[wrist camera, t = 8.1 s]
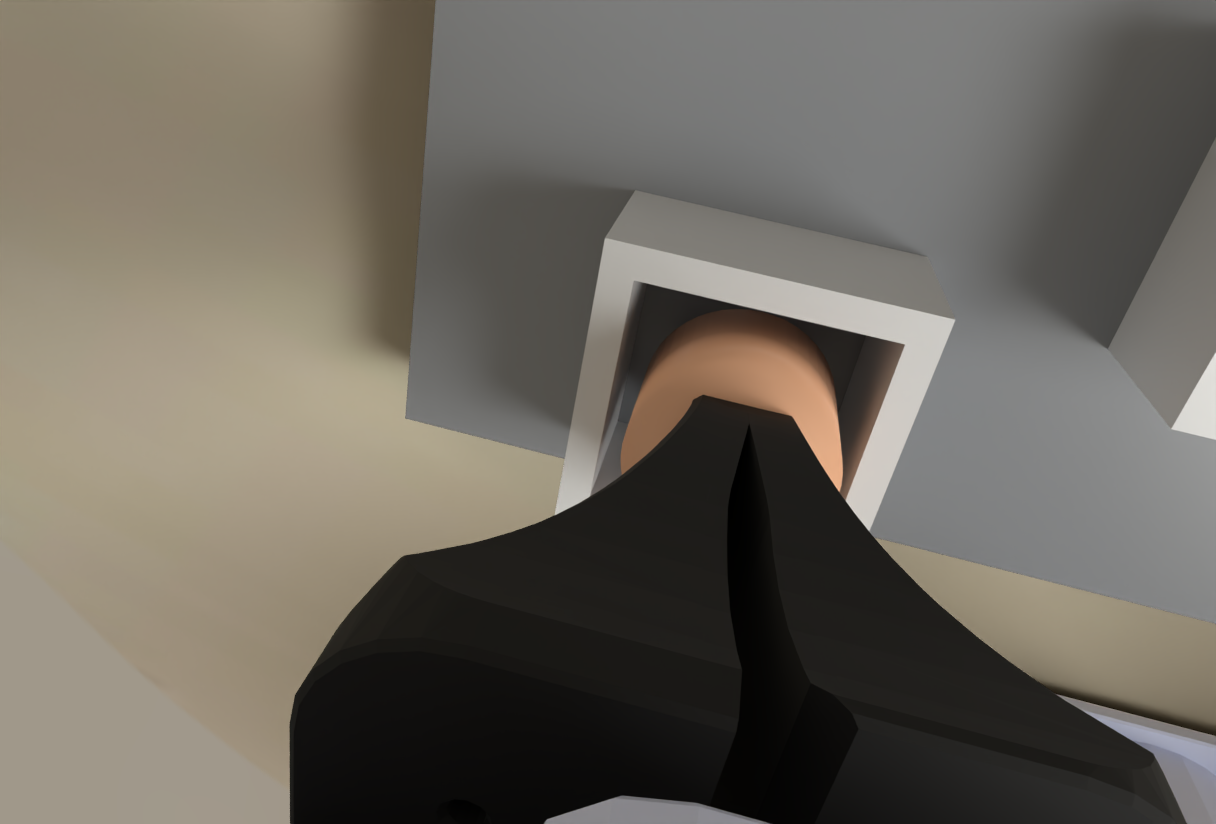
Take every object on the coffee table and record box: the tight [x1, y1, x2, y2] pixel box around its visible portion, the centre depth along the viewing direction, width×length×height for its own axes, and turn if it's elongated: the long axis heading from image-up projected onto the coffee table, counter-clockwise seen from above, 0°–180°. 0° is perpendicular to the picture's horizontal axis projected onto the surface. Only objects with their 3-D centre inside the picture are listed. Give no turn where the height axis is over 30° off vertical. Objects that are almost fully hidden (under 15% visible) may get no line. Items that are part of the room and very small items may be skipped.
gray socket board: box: [405, 0, 1216, 624], centre depth 12 cm, size 17×18×5 cm
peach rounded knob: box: [621, 309, 843, 492], centre depth 13 cm, size 3×3×2 cm
